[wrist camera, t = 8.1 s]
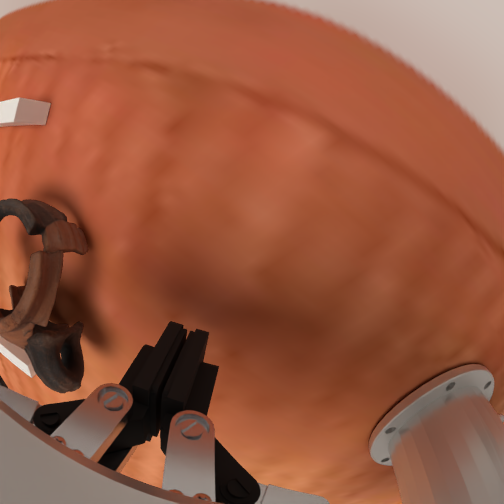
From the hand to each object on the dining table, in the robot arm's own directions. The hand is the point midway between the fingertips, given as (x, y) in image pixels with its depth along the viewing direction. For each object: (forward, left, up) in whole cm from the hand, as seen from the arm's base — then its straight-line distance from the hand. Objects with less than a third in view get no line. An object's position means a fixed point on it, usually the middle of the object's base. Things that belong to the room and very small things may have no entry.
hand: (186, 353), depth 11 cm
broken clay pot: (+11, +2, -4) cm, 12 cm away
